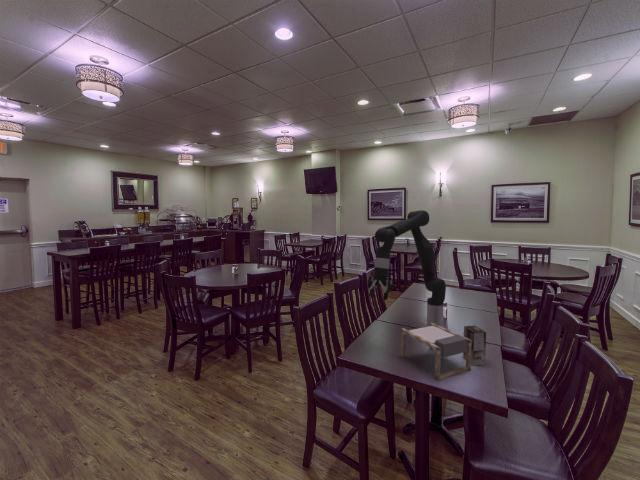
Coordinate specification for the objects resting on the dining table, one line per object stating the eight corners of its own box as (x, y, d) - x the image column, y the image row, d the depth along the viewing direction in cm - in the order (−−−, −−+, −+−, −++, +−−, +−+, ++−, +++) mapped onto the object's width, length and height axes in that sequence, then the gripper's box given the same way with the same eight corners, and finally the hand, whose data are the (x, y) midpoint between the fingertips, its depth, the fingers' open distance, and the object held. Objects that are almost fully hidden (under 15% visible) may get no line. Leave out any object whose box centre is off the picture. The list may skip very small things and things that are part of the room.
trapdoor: (468, 351, 138) (469, 338, 137) (441, 358, 131) (442, 344, 131) (432, 333, 158) (432, 322, 157) (408, 339, 151) (408, 327, 151)
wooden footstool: (470, 370, 140) (471, 340, 138) (437, 380, 132) (438, 348, 130) (431, 348, 162) (432, 322, 161) (400, 356, 154) (401, 328, 153)
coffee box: (485, 365, 144) (487, 332, 143) (472, 365, 144) (474, 333, 142) (474, 356, 153) (475, 325, 152) (462, 356, 153) (463, 325, 151)
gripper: (397, 269, 154) (394, 301, 153) (375, 266, 164) (372, 296, 164) (388, 268, 149) (384, 301, 148) (366, 265, 160) (363, 296, 159)
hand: (378, 298), depth 156 cm, fingers open, 8 cm apart
